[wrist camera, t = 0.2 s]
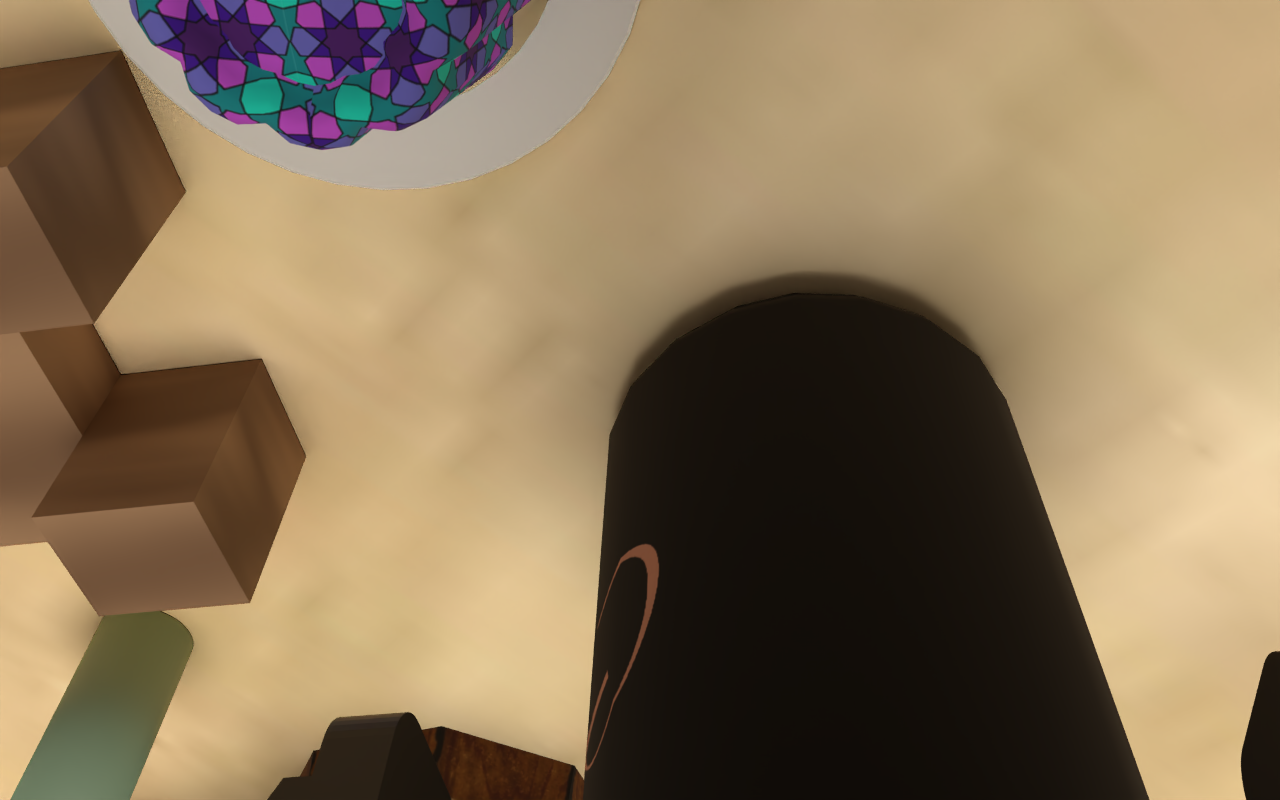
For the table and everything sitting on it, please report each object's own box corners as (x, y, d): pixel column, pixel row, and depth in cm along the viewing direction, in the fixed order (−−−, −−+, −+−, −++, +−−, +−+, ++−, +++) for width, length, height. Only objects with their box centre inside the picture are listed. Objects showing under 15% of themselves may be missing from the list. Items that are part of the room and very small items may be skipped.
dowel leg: (83, 610, 37) (-20, 806, 31) (171, 602, 36) (81, 799, 31) (124, 667, 38) (33, 862, 33) (207, 661, 38) (128, 856, 33)
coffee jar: (579, 291, 28) (482, 1075, 14) (1015, 247, 27) (1370, 1053, 13) (637, 578, 35) (609, 1306, 21) (990, 552, 34) (1209, 1304, 20)
